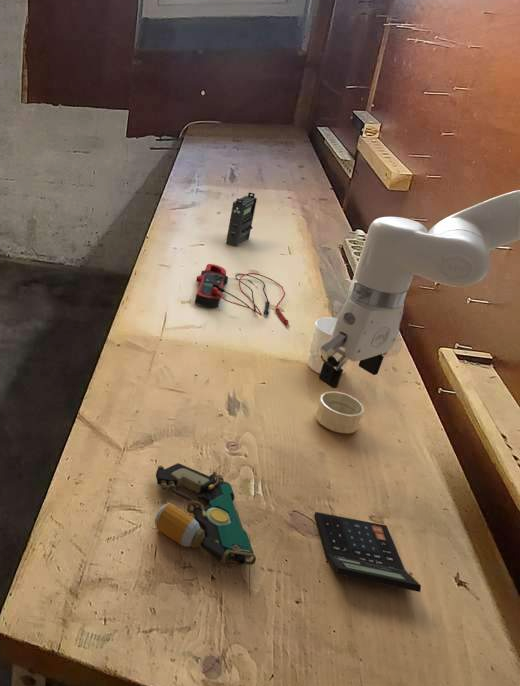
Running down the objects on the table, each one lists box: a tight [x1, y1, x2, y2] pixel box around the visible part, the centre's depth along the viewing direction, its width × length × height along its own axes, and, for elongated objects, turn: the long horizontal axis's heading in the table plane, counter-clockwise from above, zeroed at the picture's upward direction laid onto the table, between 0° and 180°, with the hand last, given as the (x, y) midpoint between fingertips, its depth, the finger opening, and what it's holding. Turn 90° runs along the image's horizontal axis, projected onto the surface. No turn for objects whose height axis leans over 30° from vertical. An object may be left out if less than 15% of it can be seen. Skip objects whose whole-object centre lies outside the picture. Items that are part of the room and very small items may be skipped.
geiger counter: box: [225, 191, 258, 247], centre depth 175 cm, size 10×4×15 cm, turn 132°
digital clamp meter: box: [194, 263, 291, 328], centre depth 146 cm, size 23×4×25 cm
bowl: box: [314, 391, 365, 434], centre depth 102 cm, size 7×7×4 cm
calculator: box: [313, 511, 422, 593], centre depth 78 cm, size 9×12×3 cm
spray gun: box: [154, 462, 257, 566], centre depth 85 cm, size 4×17×15 cm
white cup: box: [307, 316, 351, 375], centre depth 116 cm, size 8×8×10 cm
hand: (347, 376), depth 99 cm, fingers open, 9 cm apart
